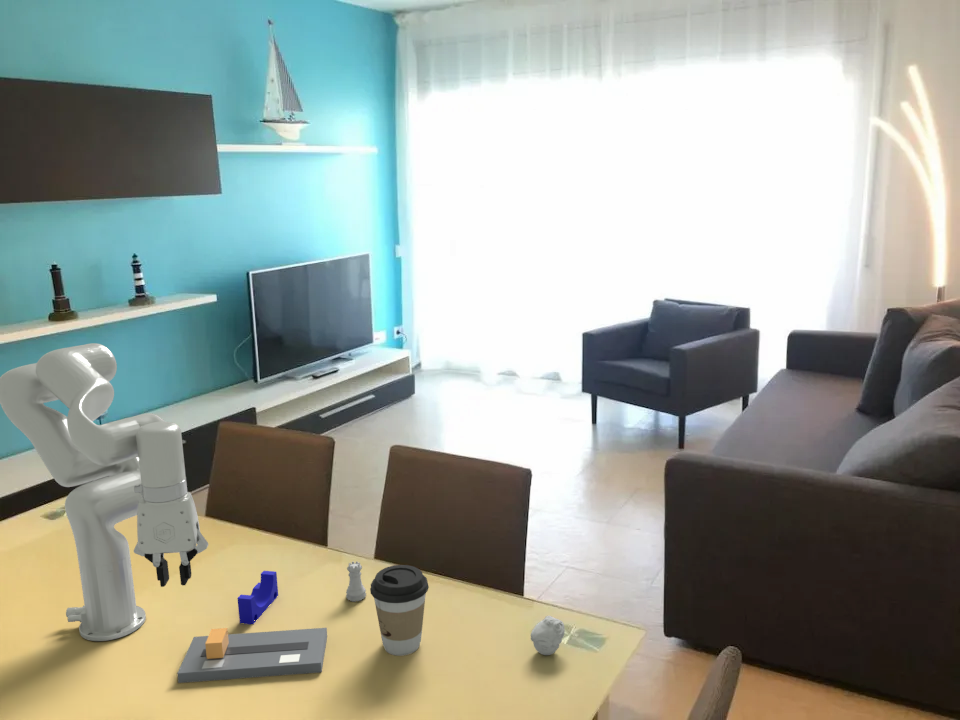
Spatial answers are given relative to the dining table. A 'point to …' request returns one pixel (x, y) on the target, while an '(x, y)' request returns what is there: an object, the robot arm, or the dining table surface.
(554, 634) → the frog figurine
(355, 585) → the rook chess piece
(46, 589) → the dining table surface
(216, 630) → the switch knob
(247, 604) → the blue curved stepped piece
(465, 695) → the dining table surface
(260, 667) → the switch panel
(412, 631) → the coffee cup
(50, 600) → the dining table surface
